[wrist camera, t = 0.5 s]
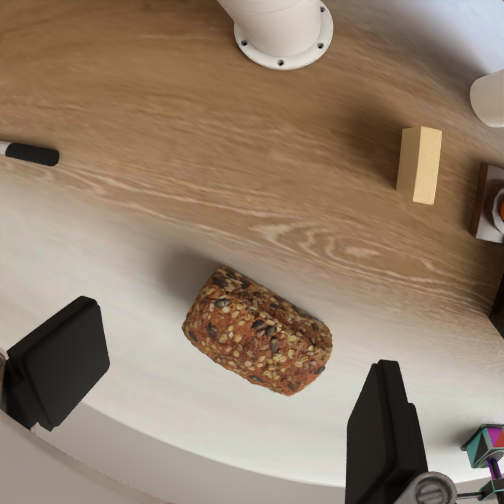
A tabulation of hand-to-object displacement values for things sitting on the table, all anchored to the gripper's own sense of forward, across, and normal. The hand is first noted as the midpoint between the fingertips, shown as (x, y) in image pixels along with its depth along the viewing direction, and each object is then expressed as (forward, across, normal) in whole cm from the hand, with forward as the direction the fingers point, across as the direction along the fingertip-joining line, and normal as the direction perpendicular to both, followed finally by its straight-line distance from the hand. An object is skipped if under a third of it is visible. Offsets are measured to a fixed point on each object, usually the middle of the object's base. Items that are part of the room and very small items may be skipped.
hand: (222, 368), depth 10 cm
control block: (+33, -28, -5) cm, 44 cm away
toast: (+33, -13, -7) cm, 36 cm away
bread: (+33, +3, +18) cm, 38 cm away
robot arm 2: (+33, -47, +43) cm, 72 cm away
